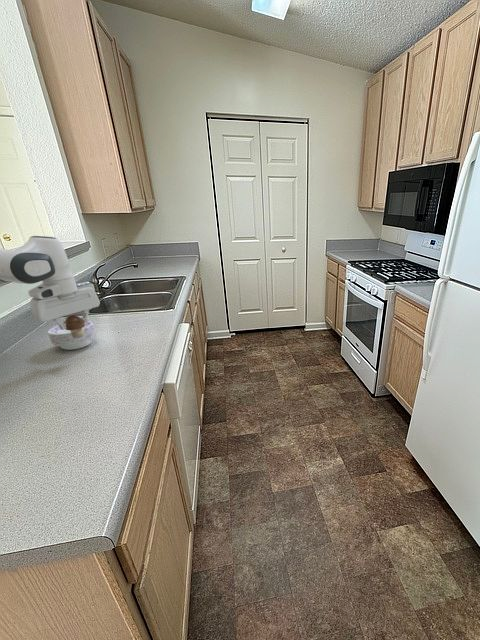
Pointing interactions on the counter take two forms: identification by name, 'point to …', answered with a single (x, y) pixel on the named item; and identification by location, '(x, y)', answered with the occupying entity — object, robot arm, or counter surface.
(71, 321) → the mushroom
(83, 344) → the paper bowls
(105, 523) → the counter surface
